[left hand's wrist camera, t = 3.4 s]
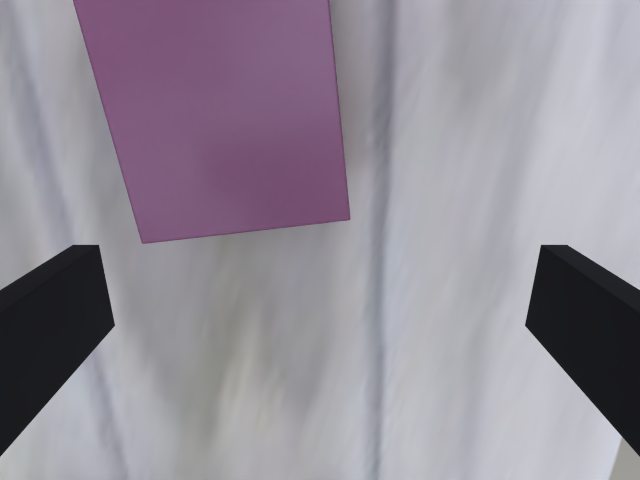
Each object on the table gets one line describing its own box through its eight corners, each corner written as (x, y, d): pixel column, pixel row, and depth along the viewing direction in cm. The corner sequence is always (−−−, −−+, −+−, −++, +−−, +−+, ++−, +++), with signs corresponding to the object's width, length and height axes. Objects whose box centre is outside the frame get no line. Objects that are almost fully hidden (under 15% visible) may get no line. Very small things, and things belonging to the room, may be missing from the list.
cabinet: (123, -159, 24) (-30, -358, 13) (301, -187, 24) (288, -413, 13) (201, 193, 31) (141, 244, 21) (339, 177, 31) (350, 220, 20)
